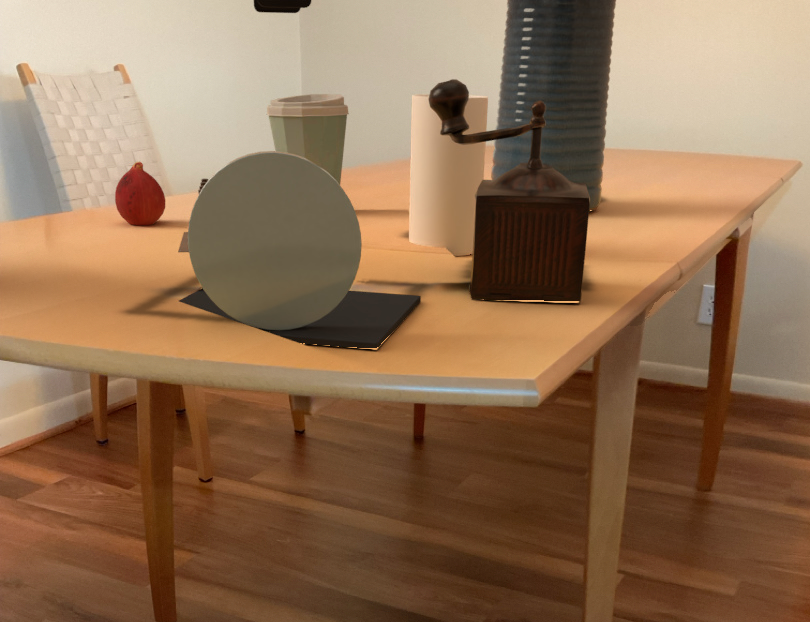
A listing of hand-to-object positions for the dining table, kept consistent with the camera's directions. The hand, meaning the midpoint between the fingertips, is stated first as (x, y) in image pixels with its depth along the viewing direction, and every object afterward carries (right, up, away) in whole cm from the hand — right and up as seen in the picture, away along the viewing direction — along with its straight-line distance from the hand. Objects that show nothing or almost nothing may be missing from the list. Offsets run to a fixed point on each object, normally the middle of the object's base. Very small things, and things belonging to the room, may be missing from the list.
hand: (280, 9), depth 59 cm
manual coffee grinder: (+17, -10, +30) cm, 36 cm away
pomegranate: (-24, +3, +53) cm, 58 cm away
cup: (+13, -1, +47) cm, 48 cm away
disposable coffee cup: (-5, +9, +65) cm, 66 cm away
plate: (-1, -18, +13) cm, 22 cm away
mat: (-2, -15, +19) cm, 25 cm away
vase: (+29, +15, +77) cm, 83 cm away
